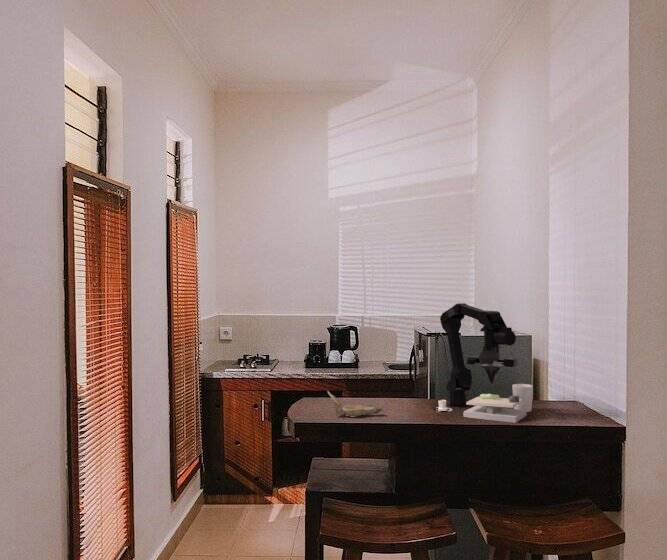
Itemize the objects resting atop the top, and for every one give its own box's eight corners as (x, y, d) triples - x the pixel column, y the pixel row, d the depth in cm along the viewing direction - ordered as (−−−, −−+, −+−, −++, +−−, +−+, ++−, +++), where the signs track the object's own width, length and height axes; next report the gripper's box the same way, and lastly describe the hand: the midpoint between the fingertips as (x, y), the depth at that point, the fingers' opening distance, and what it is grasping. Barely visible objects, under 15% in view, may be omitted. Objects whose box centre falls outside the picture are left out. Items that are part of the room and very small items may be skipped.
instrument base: (463, 416, 236) (463, 405, 236) (476, 410, 248) (476, 399, 248) (515, 422, 225) (515, 410, 225) (526, 415, 237) (526, 403, 237)
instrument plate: (466, 404, 236) (465, 396, 236) (478, 399, 247) (477, 391, 247) (513, 407, 226) (513, 399, 226) (524, 401, 237) (523, 393, 237)
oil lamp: (327, 414, 245) (327, 389, 245) (381, 413, 245) (381, 388, 245) (328, 419, 236) (327, 393, 236) (383, 418, 237) (383, 392, 237)
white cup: (510, 411, 245) (510, 386, 245) (514, 407, 252) (514, 383, 252) (531, 413, 242) (530, 387, 242) (534, 409, 248) (534, 384, 249)
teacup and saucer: (446, 413, 244) (446, 403, 244) (428, 411, 249) (428, 401, 249) (456, 410, 251) (455, 400, 251) (438, 407, 256) (438, 398, 256)
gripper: (461, 344, 239) (461, 384, 239) (509, 346, 229) (509, 388, 229) (471, 341, 248) (472, 380, 248) (517, 343, 238) (518, 384, 238)
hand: (492, 383), depth 240 cm, fingers closed
